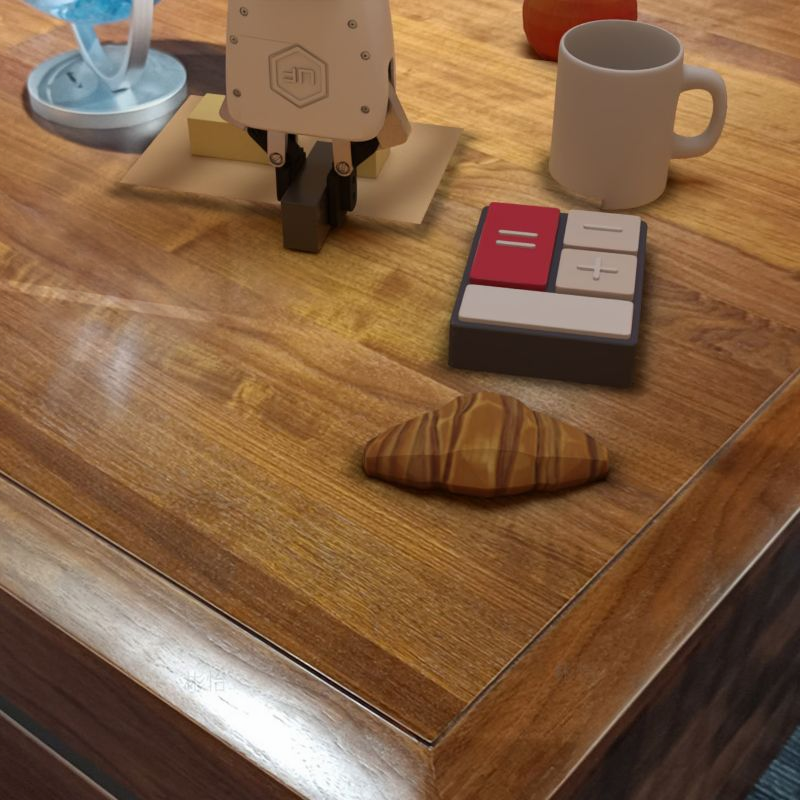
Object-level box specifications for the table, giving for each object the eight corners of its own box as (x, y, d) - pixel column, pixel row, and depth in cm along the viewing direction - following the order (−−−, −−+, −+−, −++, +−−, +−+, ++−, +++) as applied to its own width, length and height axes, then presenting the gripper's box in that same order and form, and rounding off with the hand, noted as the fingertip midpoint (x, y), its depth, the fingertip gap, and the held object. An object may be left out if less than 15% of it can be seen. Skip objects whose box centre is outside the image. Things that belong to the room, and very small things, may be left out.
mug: (548, 215, 95) (560, 70, 88) (545, 155, 102) (556, 16, 95) (720, 220, 95) (746, 75, 88) (705, 160, 101) (728, 20, 94)
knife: (317, 252, 89) (316, 206, 86) (282, 247, 89) (280, 200, 87) (384, 127, 101) (384, 83, 99) (353, 123, 101) (352, 79, 99)
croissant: (601, 437, 77) (610, 367, 74) (614, 520, 72) (624, 450, 69) (364, 433, 77) (362, 364, 74) (359, 517, 72) (357, 446, 69)
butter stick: (190, 154, 99) (186, 117, 97) (210, 129, 102) (206, 92, 100) (282, 166, 98) (279, 129, 96) (298, 140, 101) (296, 103, 99)
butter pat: (349, 175, 97) (348, 137, 95) (364, 148, 100) (363, 111, 98) (376, 179, 96) (376, 141, 94) (390, 152, 99) (390, 115, 97)
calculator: (649, 209, 89) (639, 334, 77) (641, 266, 91) (631, 395, 80) (483, 193, 90) (448, 313, 79) (480, 249, 93) (446, 373, 81)
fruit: (637, 41, 117) (651, -74, 111) (626, 90, 110) (640, -30, 104) (528, 30, 119) (535, -84, 113) (510, 78, 112) (517, -41, 106)
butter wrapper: (121, 200, 97) (118, 182, 96) (192, 111, 107) (190, 94, 106) (420, 242, 93) (420, 223, 92) (463, 145, 103) (464, 127, 102)
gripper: (156, -46, 78) (185, 226, 90) (426, -16, 75) (420, 261, 87) (202, -90, 84) (224, 171, 96) (455, -64, 81) (446, 202, 93)
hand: (317, 211), depth 91 cm, fingers closed on knife, 2 cm apart
